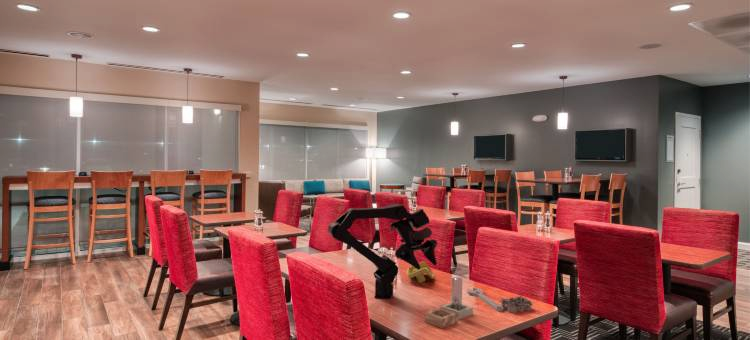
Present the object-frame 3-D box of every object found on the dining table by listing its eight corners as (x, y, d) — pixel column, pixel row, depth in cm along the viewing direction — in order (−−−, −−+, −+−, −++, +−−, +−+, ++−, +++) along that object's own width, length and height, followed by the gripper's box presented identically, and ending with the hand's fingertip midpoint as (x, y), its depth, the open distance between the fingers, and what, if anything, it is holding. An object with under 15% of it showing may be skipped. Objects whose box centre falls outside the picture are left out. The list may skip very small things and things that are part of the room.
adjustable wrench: (505, 313, 164) (505, 308, 164) (487, 313, 163) (488, 308, 163) (479, 291, 189) (479, 287, 189) (464, 292, 188) (464, 287, 188)
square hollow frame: (458, 319, 155) (458, 312, 155) (440, 313, 161) (440, 306, 161) (472, 314, 161) (473, 307, 161) (454, 308, 167) (454, 301, 166)
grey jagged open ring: (510, 314, 162) (510, 303, 162) (497, 307, 169) (497, 296, 169) (535, 311, 166) (535, 300, 166) (521, 304, 173) (521, 293, 173)
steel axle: (451, 315, 159) (452, 279, 159) (451, 311, 163) (451, 276, 163) (461, 315, 159) (462, 280, 158) (461, 312, 163) (462, 277, 162)
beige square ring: (442, 328, 147) (442, 319, 147) (424, 321, 153) (424, 312, 153) (457, 322, 153) (457, 313, 153) (440, 316, 158) (440, 307, 158)
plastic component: (407, 268, 215) (426, 259, 215) (414, 282, 215) (433, 274, 214) (406, 276, 195) (428, 266, 195) (414, 292, 195) (435, 282, 194)
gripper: (401, 223, 169) (422, 258, 161) (434, 218, 181) (456, 251, 173) (386, 240, 175) (406, 275, 167) (419, 235, 187) (439, 267, 180)
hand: (427, 266), depth 172 cm, fingers open, 9 cm apart
